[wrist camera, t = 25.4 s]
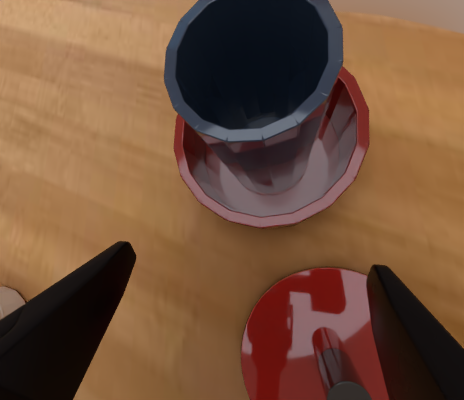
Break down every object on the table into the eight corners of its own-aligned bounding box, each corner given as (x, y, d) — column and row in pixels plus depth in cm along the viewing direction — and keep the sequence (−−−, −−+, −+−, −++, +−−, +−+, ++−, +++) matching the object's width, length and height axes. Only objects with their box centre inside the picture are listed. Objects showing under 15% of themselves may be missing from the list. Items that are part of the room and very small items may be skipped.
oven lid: (483, 368, 16) (570, 427, 11) (344, 506, 17) (369, 619, 12) (322, 229, 20) (334, 229, 15) (209, 350, 20) (185, 389, 15)
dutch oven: (382, 144, 19) (418, 110, 14) (274, 260, 20) (270, 271, 15) (264, 61, 22) (258, 8, 17) (173, 165, 23) (139, 144, 18)
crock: (322, 174, 20) (378, 90, 8) (245, 205, 21) (194, 170, 9) (290, 104, 21) (297, -58, 9) (219, 136, 22) (144, 26, 10)
